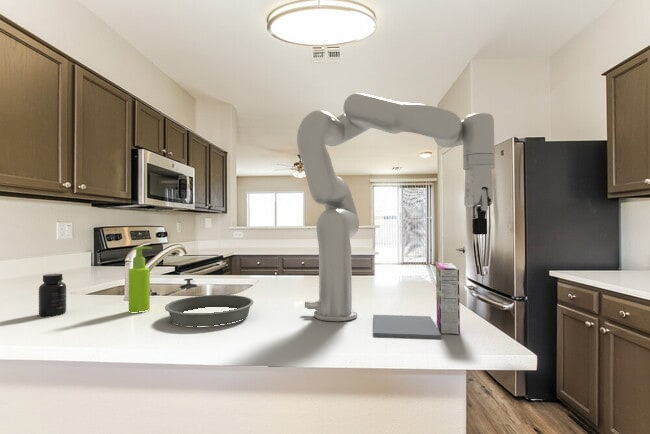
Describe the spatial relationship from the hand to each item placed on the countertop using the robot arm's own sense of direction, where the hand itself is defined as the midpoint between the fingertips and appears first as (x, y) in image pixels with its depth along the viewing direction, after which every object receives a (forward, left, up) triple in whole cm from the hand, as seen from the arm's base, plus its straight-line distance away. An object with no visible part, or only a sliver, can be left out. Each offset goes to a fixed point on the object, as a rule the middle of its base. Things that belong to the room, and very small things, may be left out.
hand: (479, 234), depth 99 cm
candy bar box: (-8, 0, -25) cm, 26 cm away
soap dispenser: (-99, +9, -25) cm, 103 cm away
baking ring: (-74, +4, -25) cm, 78 cm away
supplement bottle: (-123, +2, -25) cm, 126 cm away
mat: (-19, 0, -24) cm, 31 cm away
